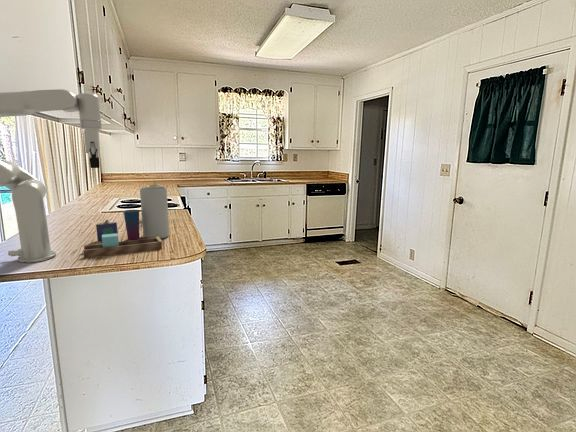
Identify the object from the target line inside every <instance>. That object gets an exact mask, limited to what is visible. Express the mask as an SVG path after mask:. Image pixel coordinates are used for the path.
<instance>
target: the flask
mask: <svg viewBox="0 0 576 432" xmlns="http://www.w3.org/2000/svg"><path fill="white" fill-rule="evenodd" d="M95 227H96V228H95V229H96V237H97V239H96V240H97V242H102V235H104V234H115V233H118V222H117V221H111V222H109V219H105V221H104V222H99V223H97V224H96V225H95ZM118 234H119V233H118Z"/></svg>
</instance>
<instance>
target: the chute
mask: <svg viewBox="0 0 576 432" xmlns="http://www.w3.org/2000/svg"><path fill="white" fill-rule="evenodd" d="M118 242H119V246H114V247H105V248H103V244H102V243H95V244H93V243H92V244H84V245H83V250H82V253H83V259H90V258H98V257H99V258H100V257H101V258H102V257H107V256H109V257H110V256H116V255H117V256H118V255H126V254H133V253H141V252H149V251H155V250H156V251H158V250H159V251H160V250H163V243H162V239H160V237H156V238H141V239H140V238H139V239H138V240H124V241H118Z"/></svg>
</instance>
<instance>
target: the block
mask: <svg viewBox="0 0 576 432" xmlns="http://www.w3.org/2000/svg"><path fill="white" fill-rule="evenodd" d="M101 242H102V243H101V244H103V248H105V247H114V246H119V242H120V241H119V233H115V234H104V235H102V241H101Z"/></svg>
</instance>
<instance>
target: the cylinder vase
mask: <svg viewBox="0 0 576 432" xmlns="http://www.w3.org/2000/svg"><path fill="white" fill-rule="evenodd" d="M139 195H140V196H139V197H140V207H141V208H140V210H141V211H140V212H141V221H142V223H141V224H142V236H143V237H144V238H146V239H150V238H156V237H160V239H161V240H162V239H165V238H168V237H169V236H170V227H169V226H170V222H169V207H168V204H169V203H168V188H167V187H165V186H164V187H150V186H146V187H145V186H144V187H140V188H139Z"/></svg>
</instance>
